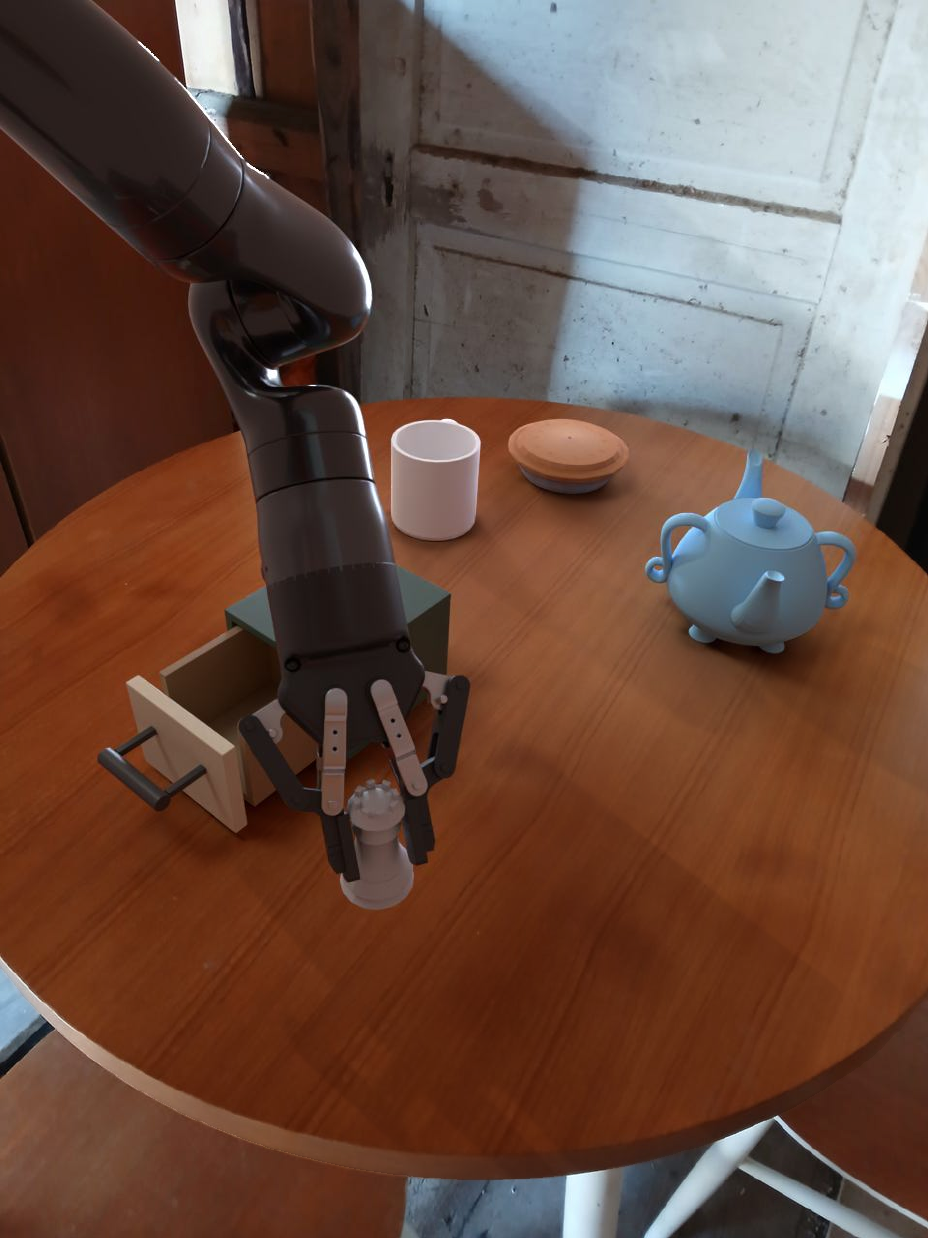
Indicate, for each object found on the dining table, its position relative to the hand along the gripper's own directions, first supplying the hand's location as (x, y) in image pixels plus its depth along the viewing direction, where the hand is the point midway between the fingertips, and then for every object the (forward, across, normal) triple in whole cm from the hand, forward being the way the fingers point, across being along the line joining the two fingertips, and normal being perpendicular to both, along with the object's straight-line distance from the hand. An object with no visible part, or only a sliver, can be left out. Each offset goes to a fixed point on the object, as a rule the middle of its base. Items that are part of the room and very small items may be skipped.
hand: (385, 869), depth 51 cm
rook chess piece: (+2, 0, +4) cm, 5 cm away
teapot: (-11, +46, +32) cm, 57 cm away
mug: (-30, +22, +52) cm, 64 cm away
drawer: (-6, -7, +27) cm, 28 cm away
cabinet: (-11, +4, +32) cm, 34 cm away
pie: (-34, +41, +55) cm, 77 cm away
